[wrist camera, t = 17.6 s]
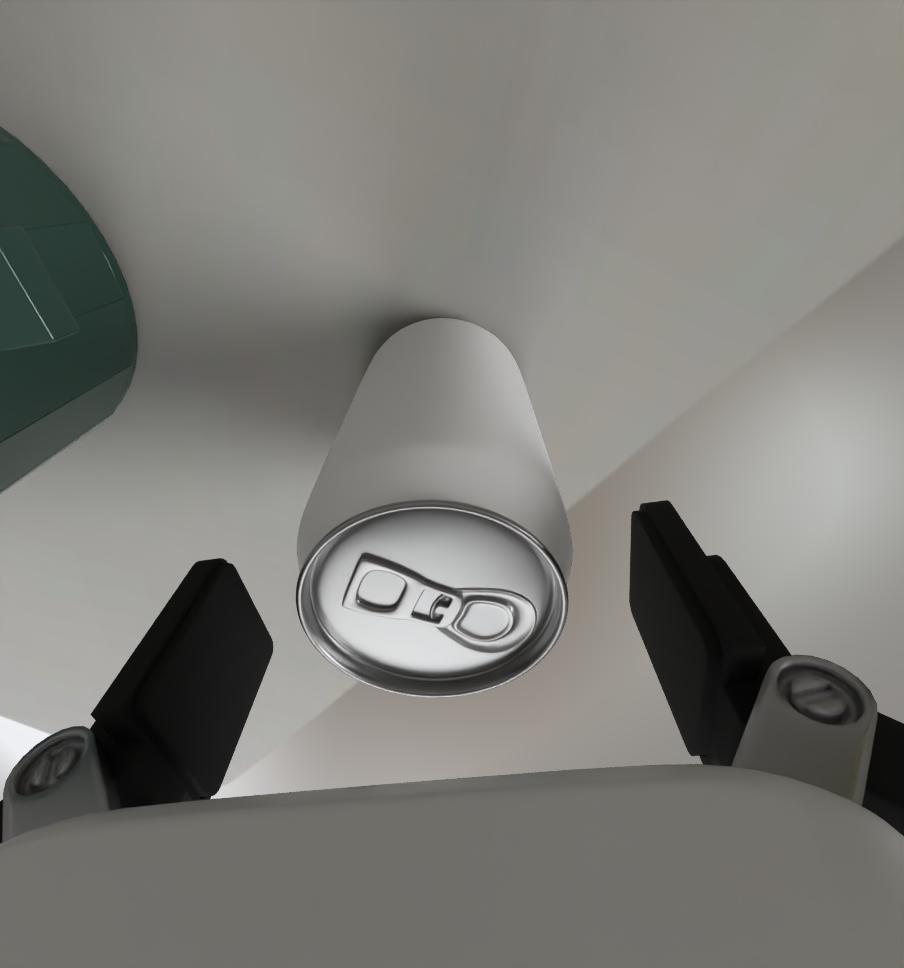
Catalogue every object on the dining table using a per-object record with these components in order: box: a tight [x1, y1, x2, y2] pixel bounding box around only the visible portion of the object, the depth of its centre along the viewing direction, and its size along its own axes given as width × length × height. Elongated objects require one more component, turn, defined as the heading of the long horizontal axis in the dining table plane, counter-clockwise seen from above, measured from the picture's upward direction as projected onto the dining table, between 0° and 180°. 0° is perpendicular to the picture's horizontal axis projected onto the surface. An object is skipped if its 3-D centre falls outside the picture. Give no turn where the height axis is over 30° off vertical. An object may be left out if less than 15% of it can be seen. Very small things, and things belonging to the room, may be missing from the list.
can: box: [296, 318, 572, 698], centre depth 15 cm, size 6×6×12 cm
